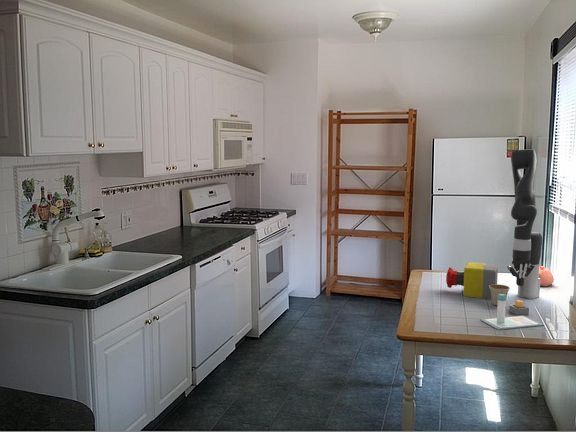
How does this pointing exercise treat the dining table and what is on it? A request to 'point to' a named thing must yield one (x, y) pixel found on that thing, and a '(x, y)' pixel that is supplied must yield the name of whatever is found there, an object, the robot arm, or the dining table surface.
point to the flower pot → (498, 292)
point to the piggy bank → (545, 276)
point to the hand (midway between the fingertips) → (519, 285)
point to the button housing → (518, 310)
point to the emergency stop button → (474, 279)
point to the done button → (519, 303)
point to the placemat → (512, 322)
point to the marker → (501, 308)
